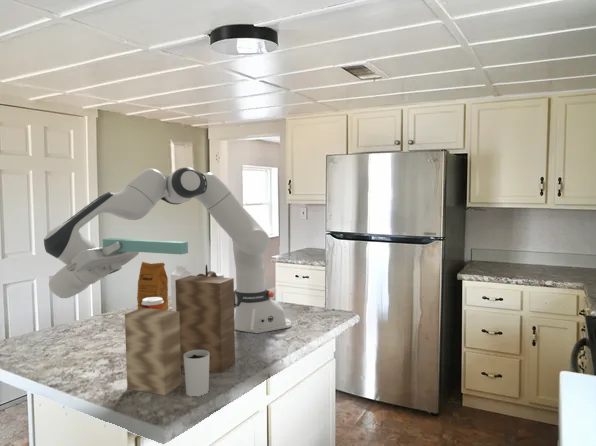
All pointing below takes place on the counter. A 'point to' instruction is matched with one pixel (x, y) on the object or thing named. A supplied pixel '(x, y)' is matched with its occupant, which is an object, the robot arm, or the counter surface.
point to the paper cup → (153, 303)
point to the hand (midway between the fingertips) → (125, 243)
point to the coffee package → (152, 283)
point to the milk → (176, 275)
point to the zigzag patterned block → (153, 350)
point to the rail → (149, 246)
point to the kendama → (208, 273)
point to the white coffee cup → (196, 372)
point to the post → (207, 318)
